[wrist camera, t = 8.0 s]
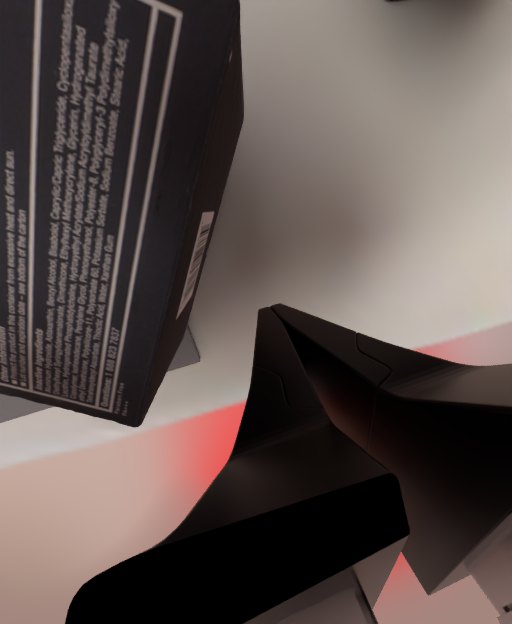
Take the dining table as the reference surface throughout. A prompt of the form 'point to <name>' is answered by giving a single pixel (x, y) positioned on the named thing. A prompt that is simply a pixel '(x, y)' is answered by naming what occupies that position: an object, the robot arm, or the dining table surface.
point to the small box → (109, 190)
